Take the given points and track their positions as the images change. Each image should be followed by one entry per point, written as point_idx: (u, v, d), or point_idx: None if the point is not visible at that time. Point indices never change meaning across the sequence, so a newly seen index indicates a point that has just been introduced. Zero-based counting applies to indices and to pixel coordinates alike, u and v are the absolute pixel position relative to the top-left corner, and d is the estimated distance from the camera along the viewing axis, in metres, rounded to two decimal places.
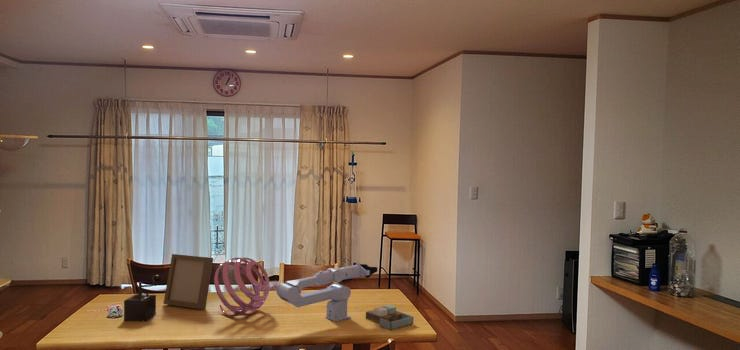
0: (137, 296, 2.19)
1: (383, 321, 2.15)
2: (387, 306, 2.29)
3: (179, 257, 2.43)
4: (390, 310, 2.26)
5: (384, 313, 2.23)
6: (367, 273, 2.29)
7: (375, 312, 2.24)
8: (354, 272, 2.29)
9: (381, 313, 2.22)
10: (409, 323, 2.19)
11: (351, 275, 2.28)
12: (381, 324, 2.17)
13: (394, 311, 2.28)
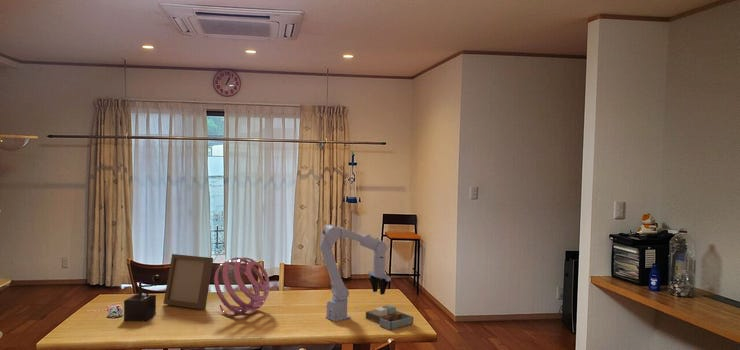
0: (137, 296, 2.19)
1: (383, 321, 2.15)
2: (387, 306, 2.29)
3: (179, 257, 2.43)
4: (390, 310, 2.26)
5: (384, 313, 2.23)
6: (388, 278, 2.28)
7: (375, 312, 2.24)
8: (383, 267, 2.32)
9: (381, 313, 2.22)
10: (409, 323, 2.19)
11: (379, 264, 2.31)
12: (381, 324, 2.17)
13: (394, 311, 2.28)
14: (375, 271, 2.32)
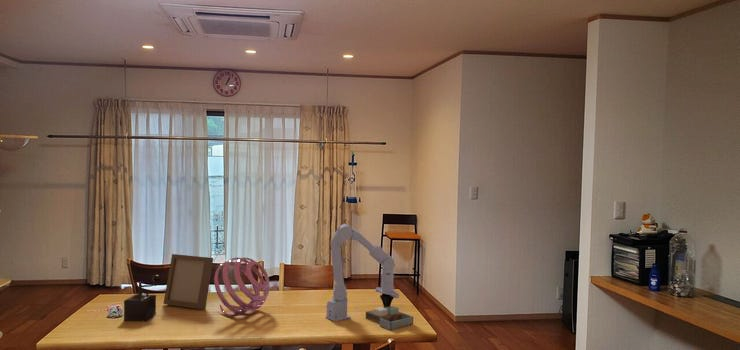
0: (137, 296, 2.19)
1: (383, 321, 2.15)
2: (389, 307, 2.27)
3: (179, 257, 2.43)
4: (392, 311, 2.25)
5: (384, 313, 2.23)
6: (397, 295, 2.24)
7: (375, 312, 2.24)
8: (391, 283, 2.28)
9: (381, 313, 2.22)
10: (409, 323, 2.19)
11: (386, 280, 2.27)
12: (381, 324, 2.17)
13: (396, 312, 2.26)
14: (383, 288, 2.27)
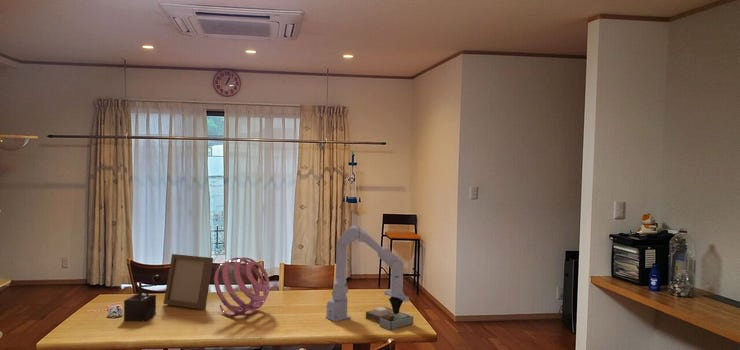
0: (137, 296, 2.19)
1: (383, 321, 2.15)
2: (398, 315, 2.23)
3: (179, 257, 2.43)
4: None
5: (384, 313, 2.23)
6: (407, 298, 2.19)
7: (375, 312, 2.24)
8: (401, 286, 2.23)
9: (381, 313, 2.22)
10: (409, 323, 2.19)
11: (394, 283, 2.22)
12: (381, 324, 2.17)
13: None
14: (392, 291, 2.23)
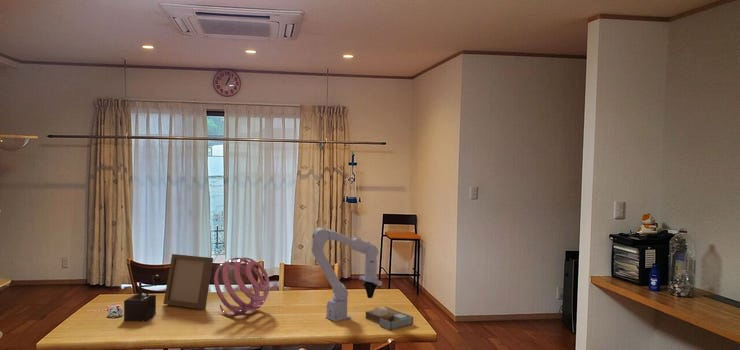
0: (137, 296, 2.19)
1: (383, 321, 2.15)
2: (398, 315, 2.23)
3: (179, 257, 2.43)
4: None
5: (384, 313, 2.23)
6: (380, 282, 2.25)
7: (375, 312, 2.24)
8: (374, 271, 2.28)
9: (381, 313, 2.22)
10: (409, 323, 2.19)
11: (369, 268, 2.28)
12: (381, 324, 2.17)
13: None
14: (366, 275, 2.28)
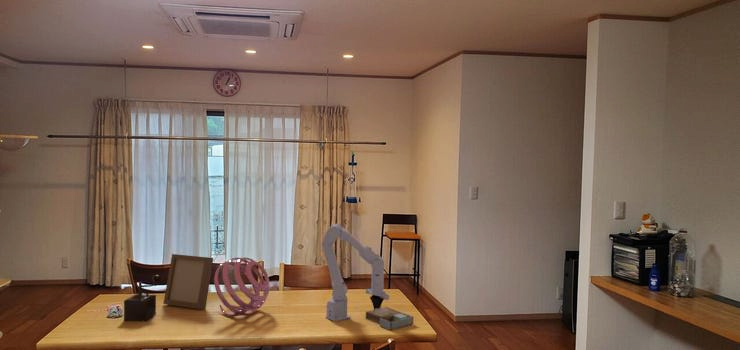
0: (137, 296, 2.19)
1: (383, 321, 2.15)
2: (398, 315, 2.23)
3: (179, 257, 2.43)
4: None
5: (385, 313, 2.23)
6: (387, 296, 2.21)
7: (376, 312, 2.24)
8: (381, 285, 2.25)
9: (382, 314, 2.22)
10: (409, 323, 2.19)
11: (375, 281, 2.24)
12: (381, 324, 2.17)
13: None
14: (373, 289, 2.25)
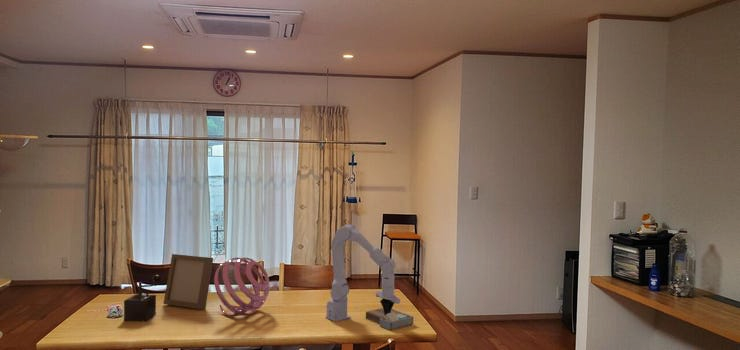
0: (137, 296, 2.19)
1: (383, 321, 2.15)
2: (398, 315, 2.23)
3: (179, 257, 2.43)
4: None
5: None
6: (398, 300, 2.16)
7: (386, 318, 2.18)
8: (392, 288, 2.19)
9: None
10: (409, 323, 2.19)
11: (384, 284, 2.19)
12: (381, 324, 2.17)
13: None
14: (383, 293, 2.19)
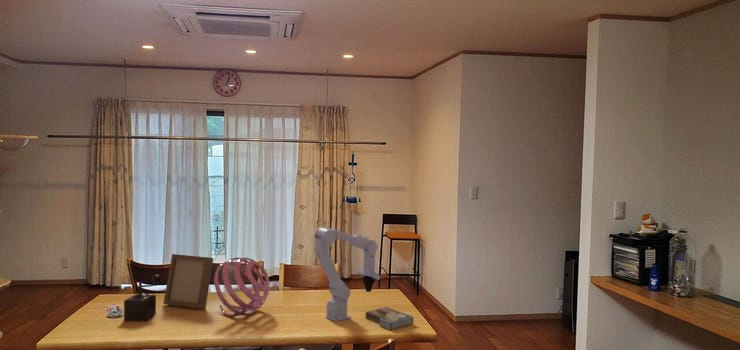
0: (137, 296, 2.19)
1: (383, 321, 2.15)
2: (398, 315, 2.23)
3: (179, 257, 2.43)
4: None
5: None
6: (378, 276, 2.31)
7: (386, 318, 2.18)
8: (373, 265, 2.34)
9: None
10: (409, 323, 2.19)
11: (370, 262, 2.33)
12: (381, 324, 2.17)
13: None
14: (365, 270, 2.34)
